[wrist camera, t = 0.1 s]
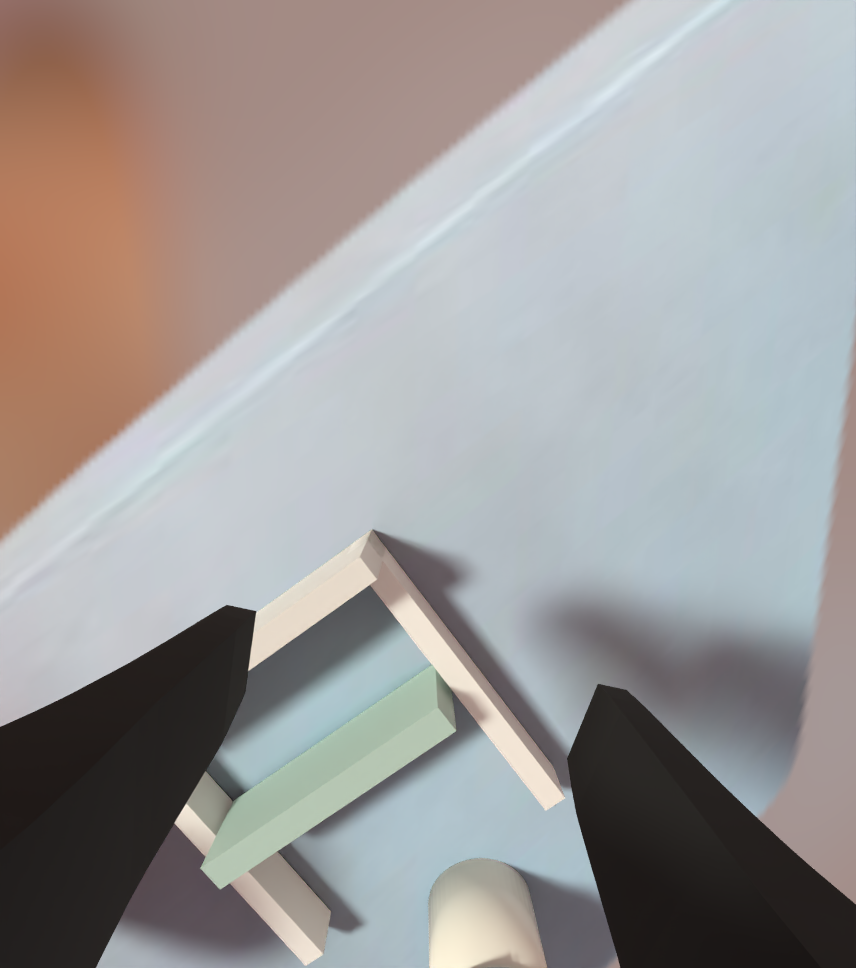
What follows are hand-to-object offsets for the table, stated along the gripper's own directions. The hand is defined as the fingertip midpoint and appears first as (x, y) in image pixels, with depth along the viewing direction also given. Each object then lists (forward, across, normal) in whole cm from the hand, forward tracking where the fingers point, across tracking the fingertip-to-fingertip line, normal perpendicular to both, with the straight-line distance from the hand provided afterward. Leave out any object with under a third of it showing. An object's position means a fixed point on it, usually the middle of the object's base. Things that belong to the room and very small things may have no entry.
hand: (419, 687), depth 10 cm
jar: (+8, -7, +18) cm, 21 cm away
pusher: (+9, +2, +11) cm, 14 cm away
